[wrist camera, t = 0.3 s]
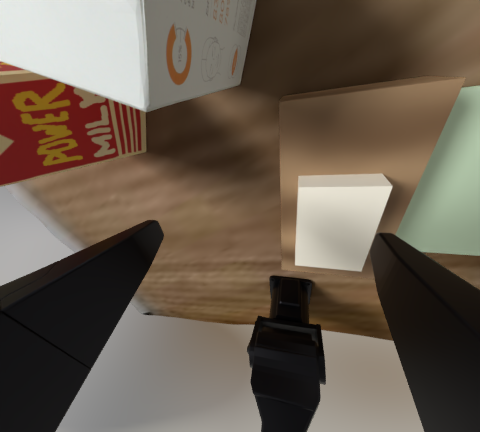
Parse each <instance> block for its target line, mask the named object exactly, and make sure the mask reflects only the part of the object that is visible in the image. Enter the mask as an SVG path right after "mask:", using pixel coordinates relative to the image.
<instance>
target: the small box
mask: <svg viewBox="0 0 480 432" xmlns="http://www.w3.org/2000/svg"><path fill="white" fill-rule="evenodd" d="M255 5H256V0H0V61H1V62H4V63H7V64H10V65H13V66H16V67H18V68H21V69H24V70H27V71H30V72H33V73H36V74H39V75H41V76H44V77H47V78H50V79H53V80H56V81H59V82H61V83H64V84H67V85H70V86H73V87H76V88H79V89H82V90H85V91H87V92H90V93H93V94H96V95H99V96H102V97H105V98H108V99H110V100H113V101H116V102H119V103H122V104H125V105H128V106H130V107H133V108H136V109H139V110H142V111H144V112H150V111H153V110H156V109H159V108H162V107H165V106H168V105H172V104H175V103H178V102H182V101H185V100H189V99H193V98H196V97H200V96H203V95H207V94H210V93H213V92H218V91H221V90H225V89H228V88H232V87H235V86H238V85H240V83H241V78H242V73H243V68H244V63H245V58H246V53H247V47H248V42H249V37H250V32H251V27H252V21H253V16H254V11H255Z"/></svg>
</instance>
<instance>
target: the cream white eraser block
mask: <svg viewBox="0 0 480 432" xmlns="http://www.w3.org/2000/svg"><path fill="white" fill-rule="evenodd" d="M392 187H393V186H392V185H391V183H390V182H389V181H388V180H387V179H386V177H385V176H384V175H383V174H348V175H311V176H298V198H297V221H296V244H295V265H297V266H307V267H318V268H328V269H339V270H349V271H360V272H361V271H362V268H363V266H364V263H365V260H366V258H367V255H368V252H369V249H370V247H371V244H372V241H373V239H374V236H375V233H376V230H377V228H378V225H379V222H380V220H381V217H382V214H383V211H384V209H385V206H386V203H387V201H388V198H389V195H390V193H391V190H392Z"/></svg>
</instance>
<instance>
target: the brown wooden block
mask: <svg viewBox="0 0 480 432" xmlns="http://www.w3.org/2000/svg"><path fill="white" fill-rule="evenodd" d="M465 79H466V77H444V76H422V77H415V78H408V79H400V80H393V81H386V82H379V83H372V84H365V85H358V86H350V87H343V88H336V89H329V90H322V91H315V92H308V93H300V94H293V95H286V96H282V98H281V99H280V101H279V140H280V198H281V256H282V270H290V271H299V272H309V273H319V274H328V275H338V276H348V277H357V278H367V279H375V277H374V272H373V268H372V263H371V258H370V249H371V247H370V249H369V252H368V255H367V258H366V260H365V263H364V266H363V268H362V271H361V272H360V271H349V270H339V269H328V268H318V267H307V266H297V265H295V244H296V221H297V198H298V176H311V175H348V174H383V175H384V176H385V177H386V179H387V180H388V181H389V182H390V183H391V185H392V186H393V187H392V190H391V193H390V195H389V198H388V201H387V203H386V206H385V209H384V211H383V214H382V217H381V220H380V222H379V225H378V228H377V230H376V233H375V235H376V234H377V233H379V232H385V233H393V234H394V235H395V234H396V232H397V230H398V228H399V225H400V223H401V221H402V219H403V217H404V214H405V212H406V210H407V208H408V205H409V203H410V201H411V199H412V197H413V194H414V192H415V190H416V188H417V186H418V183H419V181H420V179H421V177H422V175H423V172H424V170H425V168H426V166H427V163H428V161H429V159H430V157H431V155H432V152H433V150H434V148H435V146H436V144H437V141H438V139H439V137H440V135H441V133H442V130H443V128H444V126H445V124H446V121H447V119H448V117H449V115H450V113H451V110H452V108H453V106H454V104H455V102H456V99H457V97H458V95H459V93H460V90H461V88H462V86H463V84H464V82H465ZM374 238H375V236H374ZM373 240H374V239H373ZM372 243H373V241H372ZM371 246H372V244H371Z"/></svg>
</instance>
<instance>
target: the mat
mask: <svg viewBox="0 0 480 432" xmlns="http://www.w3.org/2000/svg"><path fill="white" fill-rule="evenodd" d="M395 235H396V236H397V237H399V238H400V239H402V240H403V241H405V242H407V243H408V244H410V245H411V246H413V247H414V248H416V249H417V250H419V251H420V252H431V253H446V254H461V255H476V256H480V85H479V86H471V87H463V88H461V90H460V93H459V95H458V97H457V99H456V102H455V104H454V106H453V108H452V110H451V113H450V115H449V117H448V119H447V121H446V124H445V126H444V128H443V130H442V133H441V135H440V137H439V139H438V141H437V144H436V146H435V148H434V150H433V152H432V155H431V157H430V159H429V161H428V163H427V166H426V168H425V170H424V172H423V175H422V177H421V179H420V181H419V183H418V186H417V188H416V190H415V192H414V194H413V197H412V199H411V201H410V203H409V205H408V208H407V210H406V212H405V214H404V217H403V219H402V221H401V223H400V225H399V228H398V230H397V232H396V234H395Z"/></svg>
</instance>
